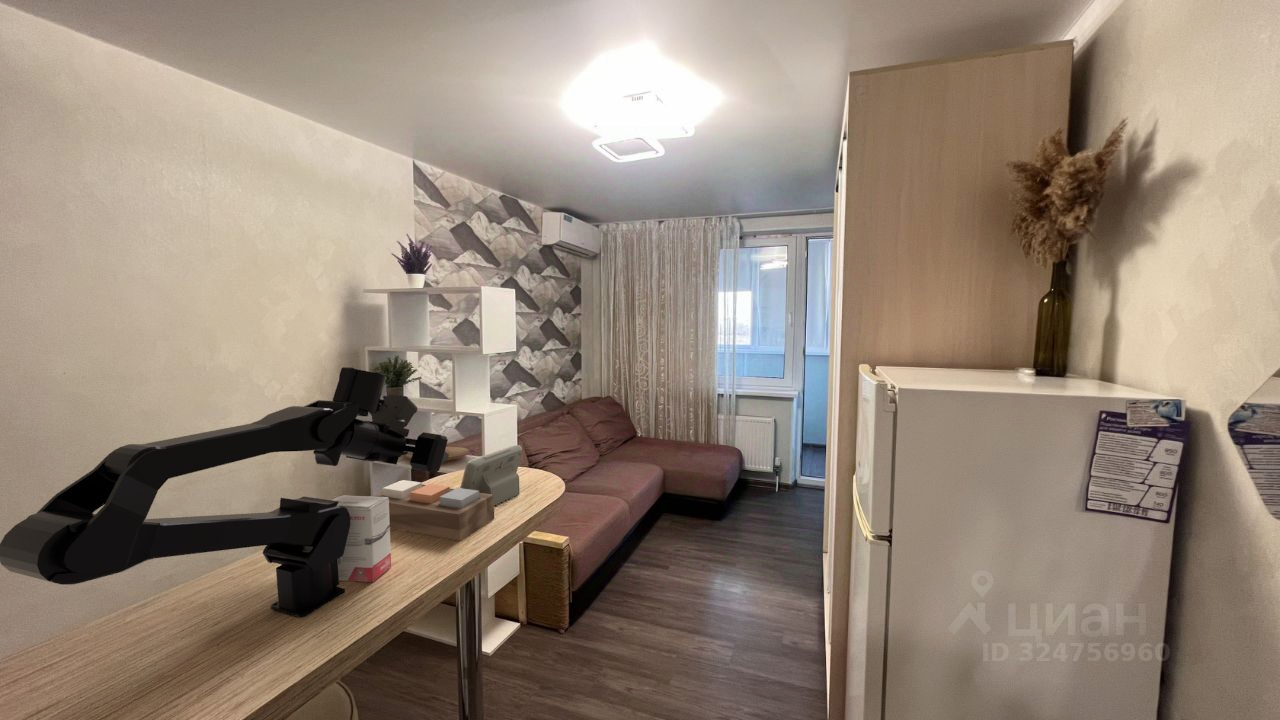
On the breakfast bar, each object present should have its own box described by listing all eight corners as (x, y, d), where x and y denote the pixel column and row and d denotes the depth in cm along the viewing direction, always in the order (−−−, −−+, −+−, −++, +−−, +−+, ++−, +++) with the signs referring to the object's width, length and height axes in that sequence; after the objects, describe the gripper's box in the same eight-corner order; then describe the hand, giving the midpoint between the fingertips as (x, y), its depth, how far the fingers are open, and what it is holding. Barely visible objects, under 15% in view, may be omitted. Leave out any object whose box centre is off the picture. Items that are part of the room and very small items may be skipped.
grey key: (462, 515, 89) (461, 500, 89) (440, 512, 91) (439, 496, 90) (479, 505, 94) (478, 490, 94) (458, 502, 95) (457, 487, 95)
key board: (460, 541, 87) (459, 514, 86) (367, 523, 94) (366, 499, 93) (494, 518, 96) (493, 494, 96) (407, 504, 103) (406, 482, 103)
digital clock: (511, 484, 116) (509, 440, 115) (535, 492, 110) (533, 447, 109) (448, 504, 104) (446, 456, 102) (471, 515, 98) (469, 464, 97)
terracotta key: (431, 510, 91) (431, 495, 91) (411, 507, 93) (410, 492, 93) (450, 501, 96) (449, 486, 96) (430, 498, 98) (429, 483, 97)
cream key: (403, 506, 94) (402, 491, 93) (383, 502, 95) (382, 488, 95) (422, 496, 98) (421, 482, 98) (403, 493, 100) (402, 479, 100)
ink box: (394, 566, 78) (390, 495, 77) (373, 583, 73) (369, 507, 72) (344, 563, 79) (339, 493, 78) (321, 580, 74) (316, 505, 73)
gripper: (425, 396, 76) (480, 417, 90) (335, 385, 82) (400, 407, 96) (403, 467, 73) (464, 478, 87) (311, 451, 78) (383, 464, 93)
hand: (427, 454), depth 91 cm, fingers open, 9 cm apart
